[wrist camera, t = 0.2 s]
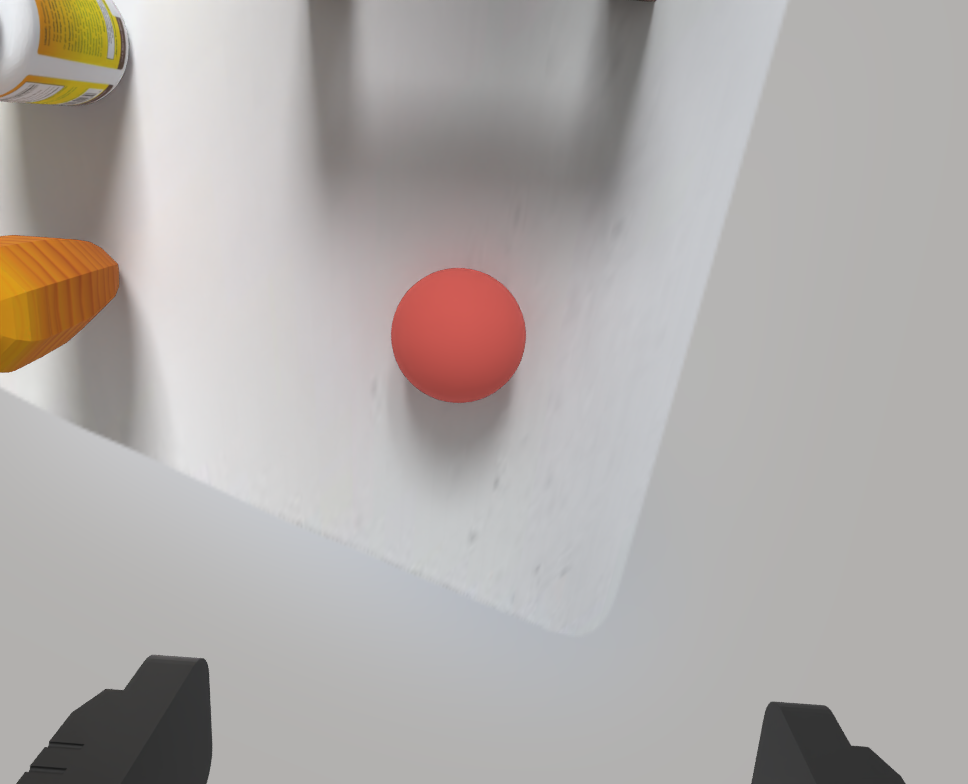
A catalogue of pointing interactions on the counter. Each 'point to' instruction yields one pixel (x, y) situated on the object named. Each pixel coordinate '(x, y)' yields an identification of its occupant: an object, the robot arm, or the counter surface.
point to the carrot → (49, 294)
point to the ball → (458, 335)
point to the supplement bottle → (61, 50)
